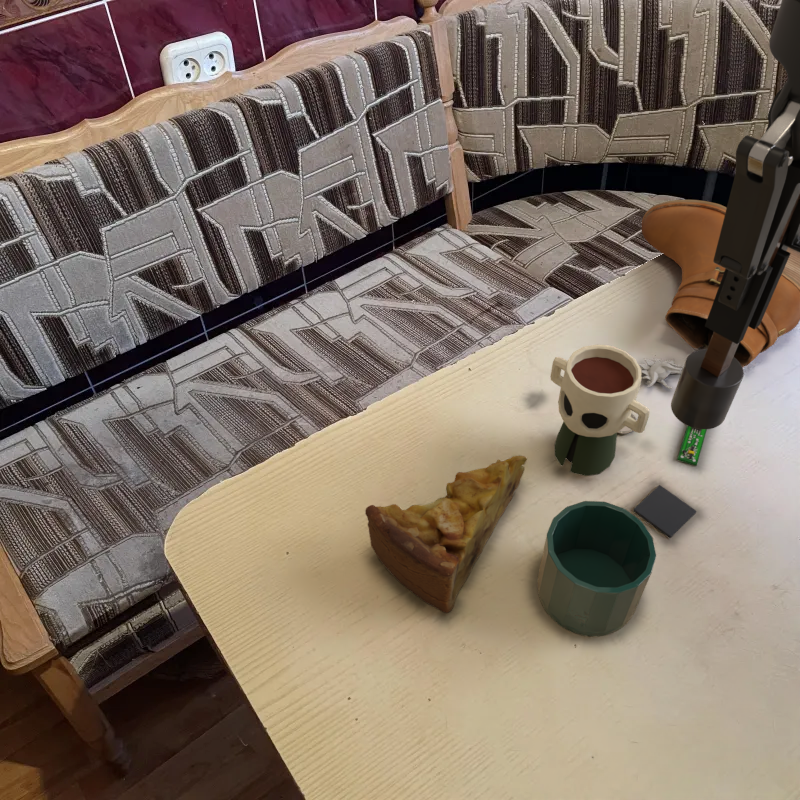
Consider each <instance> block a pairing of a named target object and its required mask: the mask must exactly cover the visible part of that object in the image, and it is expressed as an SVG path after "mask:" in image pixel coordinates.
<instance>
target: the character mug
mask: <svg viewBox="0 0 800 800" xmlns="http://www.w3.org/2000/svg"><path fill="white" fill-rule="evenodd" d="M639 364H640V363H638V361H637V359H636V358H635V357H633V356H632V355H631V354H629V353H628V352H627V351H626V350H624V349H620V348H618V347H615V346H613V345H608V344H607V345H606V344H591V345H584V346H582V347H580V348H578V349H577V350H575V351H573V352H572V353H571V354H570V357H569V358H568V359H565V358H563V357H560V356H556V357H555V358H554V359H553V361H552V365H551V369H550V381H551V382H552V383H554V384H555V385H557V386H558V387H560V390H559V395H558V399H557V400H558V401H557V404H558V405H557V406H558V412H559V415H560V417H561V420H562V421H563V422H562V424H561V426H560V428H559V430H558V433H557V436H556V438H555V441H554V445H553V446H554V457H555V459H556V460H557V462H558V463H559V465H560V466H562V467H564V465H565V463H566V460H567V461H568V463H571V466H570V469H569V472H571V473H572V474H575V475H576V474H577V475H581V476H584V477H588V476H589V477H590V476H596V475H600V474H601V473H603V472H604V471H606V470H607V469H608V468H610V467H611V465H612V463H613V461H614V459H615V458H616V457H615V456H616V449H617V437H618V436H617V435H618V433H617V432H618V431H620V430H621V429H623V428H624V427H625V426H626V427H628V428H630V429H631V430H633V431H634V433H636V434H637V433H638V434H641V433H643V432H644V431H645V430H646V427H647V424H648V421H649V417H650V409H649V408H648V407H647V406H646V405H644V404H642V403H641V402H639V401H638V400H637V398H638V395H639V390H640V388H641V384H642V373H641V369H642V368H640V366H639ZM562 371H564V373H563V376H562V374H561V373H562ZM633 413H635V414H636V415H637V418H636V420H635V419H633V418H631V415H632V414H633ZM633 431H632V432H633Z"/></svg>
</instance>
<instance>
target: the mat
mask: <svg viewBox="0 0 800 800" xmlns="http://www.w3.org/2000/svg"><path fill="white" fill-rule="evenodd" d="M632 512H633V513H635V514H636V515H637V516H638V517H640V518H641V519H643V520H644V521H646V523H648V524H650V525H651V527H654V529H656V530H657V531H659V532H660V533H662V534H663V535H664V536H666V537H667V538H668V539H671V538H672V537H673V536H674V535H675V534H676V533H677V532H678V531H679V530H681V528H682V527H683V526H684V525H686V523H687V522H689V521H690V520H691V519H692V518H693V516H695V515H696V514H697V510H696V509H694V507H692V506H690V505H689V504H687V502H685V501H683V500H682V499H681V498H679V497H678V496H677V495H675V494H673V493H672V492H671V491H669V490H668V489H666V488H665V487H663V486H662V485H660V484H659V485H658V486H657V487H655V488H654V490H652V491H651V492H650V493H649V494H648V495H647V496H645V497H644V499H642V501H640V503H638V504H637V505H636V506H635V507H634V508H633V510H632Z"/></svg>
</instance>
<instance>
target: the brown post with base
mask: <svg viewBox="0 0 800 800" xmlns="http://www.w3.org/2000/svg"><path fill="white" fill-rule="evenodd" d="M799 198H800V194H799V196H798V198H797V201H796V203H795V205H794V207H793V210H792V212H791V214H790V216H789V219H788V221H787V223H786V225H785V228H784V230H783V232H782V234H781V237H780V239H779V241H778V243H777V246H776V248H775V250H774V252H773V255H772V257H771V259H770V261H769V264H768V266H770V267H771V265H772V263H773V260H774V258H775V256H776V253H777V251H778V248H779V246H780V244H781V241H782V239H783V236H784V234H785V232H786V229H787V227H788V224H789V222H790V220H791V217H792V215H793V212H794V210H795V207H796V205H797V203H798V200H799ZM738 345H739V343H738V344H736V343H734V342H732V341H730V340H728V339H727V338H725V337H723V336H721V335H719V334H718V333H716V332H713V335H712V338H711V340H710V343H709V346H708V348H707V349H704V348H700V349H696V350H694V351H692V352H691V353H689V354H688V356H687V357H686V359H685V362H684V364H683V366H684V367H683V368H682V369H681V370H682V373H681V374H679V379H678V381H677V384H676V387H675V389H674V393H673V395H672V399H671V401H670V409H671V413H672V414H673V415H674V417H675V418H676V419H677V420H678V421H679V422H681V424H684V425H686V427H687V426H690V427H692V428H696V429H707V430H712V429H716V428H717V427H719V426H720V425H722V424H723V423H724V421H725V419H726V417H727V415H728V412H729V410H730V408H731V407H732V404H733V401H734V399H735V397H736V394H737V393H738V390H739V388H740V386H741V383H742V381H743V379H744V375H745V374H744V367H742V366H741V364H740V363H739V361H738V360H737V359H736V358H734V354H735V352H736V349H737V347H738Z"/></svg>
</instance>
